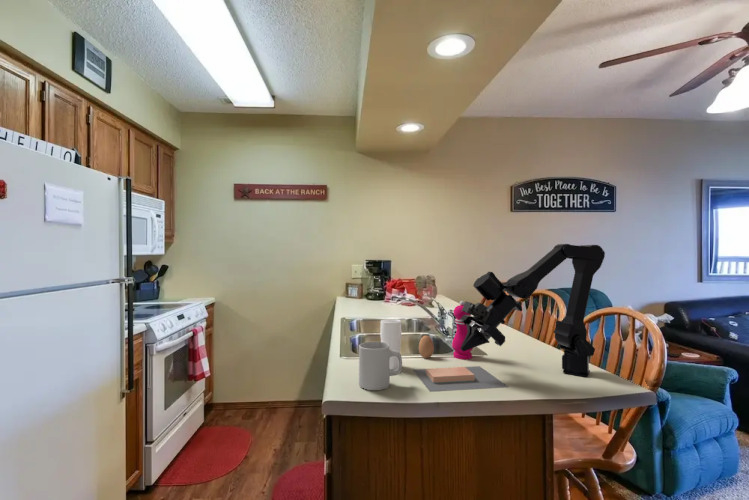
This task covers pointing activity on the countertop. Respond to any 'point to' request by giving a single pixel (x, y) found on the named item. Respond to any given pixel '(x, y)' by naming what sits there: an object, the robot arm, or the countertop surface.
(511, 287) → the robot arm
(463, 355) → the pepper mill
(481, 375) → the charcoal rubber mat
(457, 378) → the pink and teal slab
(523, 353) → the countertop surface
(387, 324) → the white cylinder
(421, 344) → the egg
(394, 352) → the mug
